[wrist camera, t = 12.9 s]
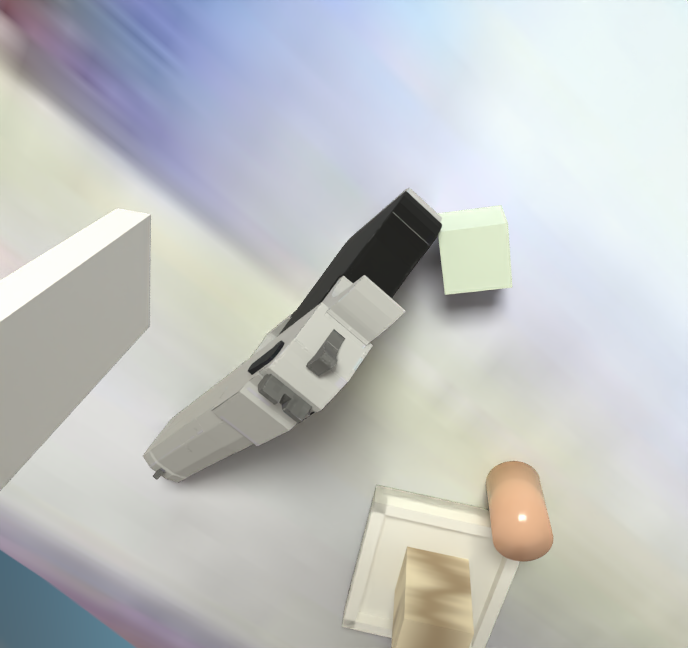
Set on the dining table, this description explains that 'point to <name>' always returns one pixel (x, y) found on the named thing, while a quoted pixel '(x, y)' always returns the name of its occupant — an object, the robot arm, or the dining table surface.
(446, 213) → the sage block
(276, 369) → the handgun
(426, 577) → the birch block
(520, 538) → the peach capsule
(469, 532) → the tray
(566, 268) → the dining table surface
